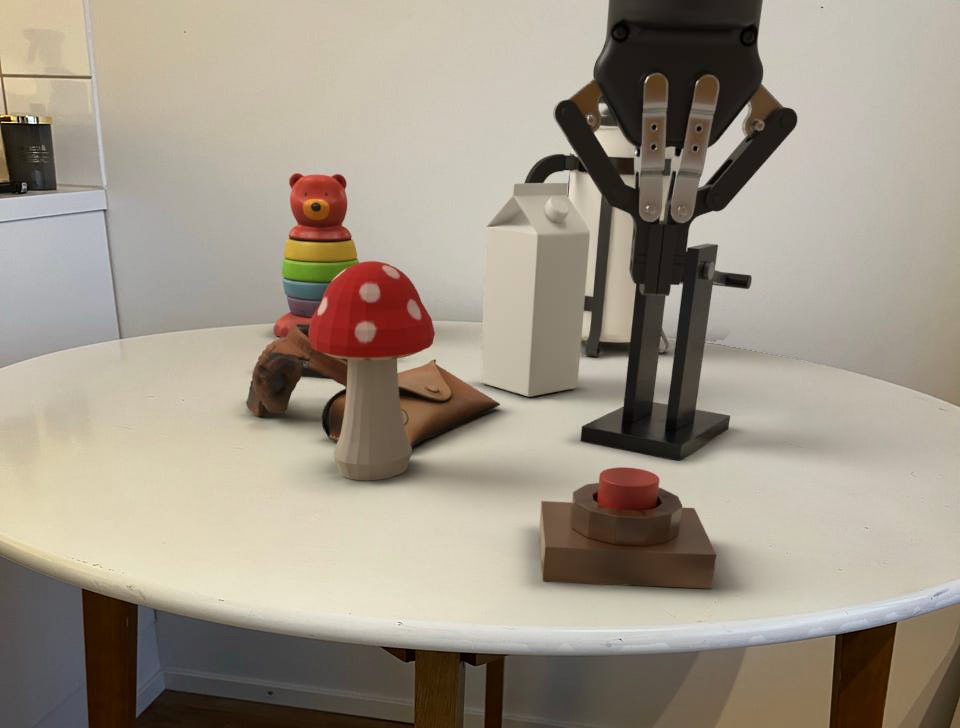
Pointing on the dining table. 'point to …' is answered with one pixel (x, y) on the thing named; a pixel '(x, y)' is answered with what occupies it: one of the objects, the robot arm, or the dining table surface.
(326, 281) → the stacking bear
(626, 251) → the coffee press
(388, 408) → the decorative mushroom
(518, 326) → the milk carton
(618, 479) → the red button
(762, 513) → the dining table surface
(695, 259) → the lever stand
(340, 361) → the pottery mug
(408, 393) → the sunglasses case
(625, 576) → the button block
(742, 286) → the stand lever
